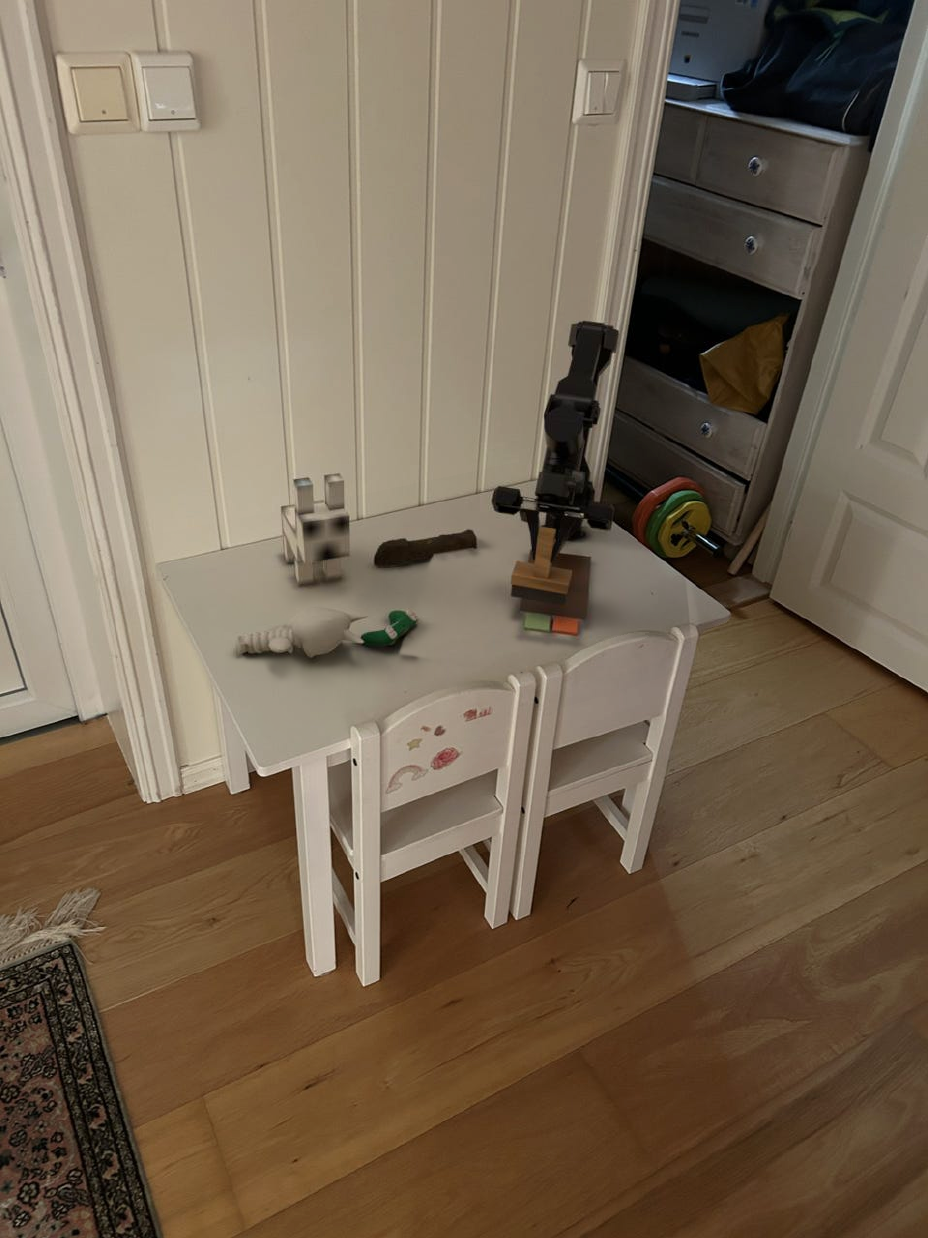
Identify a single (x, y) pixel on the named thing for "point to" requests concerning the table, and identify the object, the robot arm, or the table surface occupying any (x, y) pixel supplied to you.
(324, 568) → the white blocky toy rabbit
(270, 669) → the table surface
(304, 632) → the toy creature
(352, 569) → the table surface
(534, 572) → the brush
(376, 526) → the table surface
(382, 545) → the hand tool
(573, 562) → the board
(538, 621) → the clay sage
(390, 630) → the green stocking
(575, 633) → the clay terracotta
